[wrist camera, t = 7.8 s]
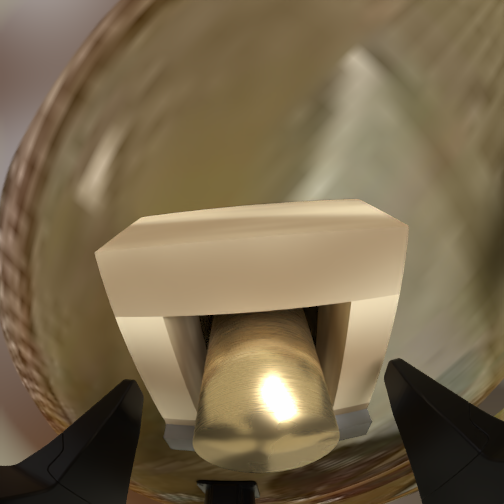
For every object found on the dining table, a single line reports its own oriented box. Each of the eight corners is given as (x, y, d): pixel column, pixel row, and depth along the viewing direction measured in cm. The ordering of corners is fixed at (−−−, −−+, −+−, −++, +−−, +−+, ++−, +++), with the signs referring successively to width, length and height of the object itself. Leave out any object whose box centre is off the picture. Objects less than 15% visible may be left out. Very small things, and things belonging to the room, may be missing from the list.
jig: (341, 373, 14) (363, 439, 10) (187, 385, 14) (174, 453, 10) (358, 199, 10) (423, 235, 6) (141, 217, 11) (80, 263, 6)
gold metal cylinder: (300, 340, 13) (329, 464, 7) (221, 346, 13) (209, 473, 7) (301, 269, 12) (352, 401, 5) (208, 277, 12) (174, 413, 5)
